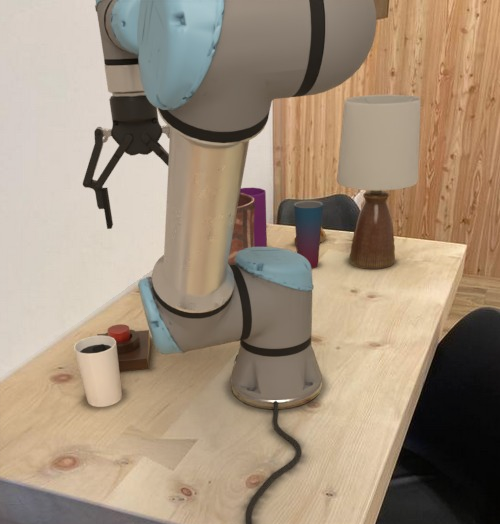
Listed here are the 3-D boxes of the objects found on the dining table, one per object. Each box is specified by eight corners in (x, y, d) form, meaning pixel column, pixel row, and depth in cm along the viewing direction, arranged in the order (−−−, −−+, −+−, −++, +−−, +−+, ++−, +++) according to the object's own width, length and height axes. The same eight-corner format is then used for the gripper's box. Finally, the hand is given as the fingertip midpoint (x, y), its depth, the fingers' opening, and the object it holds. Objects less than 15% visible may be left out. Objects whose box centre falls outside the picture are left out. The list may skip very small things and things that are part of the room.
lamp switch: (130, 342, 116) (128, 332, 115) (108, 344, 116) (106, 334, 115) (131, 333, 119) (130, 323, 118) (110, 335, 119) (108, 325, 118)
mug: (271, 244, 173) (269, 187, 165) (255, 263, 161) (253, 203, 153) (239, 242, 176) (236, 186, 168) (220, 261, 163) (217, 201, 155)
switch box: (148, 369, 115) (145, 349, 113) (92, 373, 114) (88, 353, 112) (150, 340, 125) (147, 321, 123) (99, 344, 124) (95, 325, 122)
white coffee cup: (91, 387, 110) (81, 335, 105) (129, 388, 109) (121, 335, 104) (79, 407, 104) (67, 353, 99) (118, 408, 103) (109, 354, 98)
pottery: (206, 260, 164) (201, 188, 155) (268, 267, 157) (266, 193, 148) (170, 283, 151) (162, 207, 141) (236, 293, 144) (232, 213, 135)
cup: (326, 262, 159) (327, 202, 151) (313, 271, 154) (314, 209, 146) (302, 258, 162) (302, 199, 154) (289, 267, 157) (288, 205, 150)
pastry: (308, 249, 168) (308, 234, 167) (287, 244, 172) (287, 231, 170) (328, 240, 174) (328, 226, 172) (308, 236, 178) (308, 222, 176)
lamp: (322, 255, 164) (326, 98, 144) (387, 246, 168) (398, 92, 149) (354, 279, 148) (363, 107, 129) (424, 268, 153) (443, 100, 134)
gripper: (208, 87, 107) (216, 214, 118) (58, 95, 105) (81, 223, 116) (209, 91, 100) (218, 225, 111) (50, 100, 99) (75, 234, 110)
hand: (148, 224), depth 114 cm, fingers open, 13 cm apart
